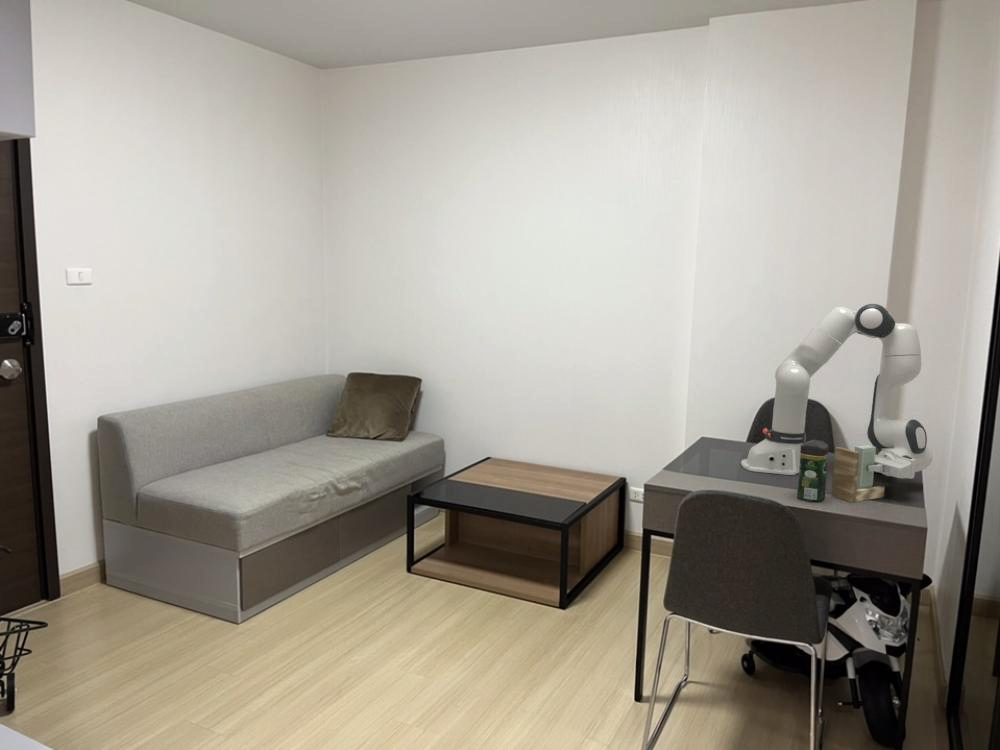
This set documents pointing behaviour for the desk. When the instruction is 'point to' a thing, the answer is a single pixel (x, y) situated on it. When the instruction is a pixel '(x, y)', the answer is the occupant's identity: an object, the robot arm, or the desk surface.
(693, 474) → the desk surface
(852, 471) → the track
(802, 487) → the coffee jar
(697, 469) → the desk surface
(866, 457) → the mint green rectangular block
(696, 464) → the desk surface
